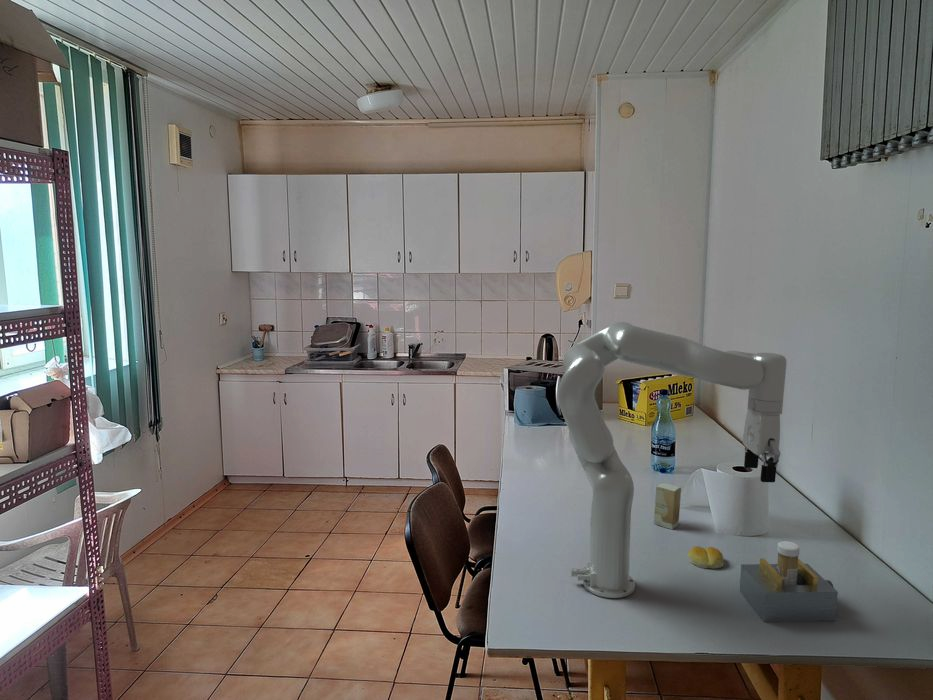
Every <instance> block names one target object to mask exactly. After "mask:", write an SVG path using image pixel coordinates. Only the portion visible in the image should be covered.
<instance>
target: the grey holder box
mask: <svg viewBox="0 0 933 700" xmlns="http://www.w3.org/2000/svg"><path fill="white" fill-rule="evenodd" d="M739 578H740V579H739V593H740V594H741V596H742V597H744V599H745V600H746V602H748V604H749V605H750V607H752V609H753V610H754V611H755V613H756V614H757V615H758V617H759V618H760V619H761V620H762V622H764V623H771V622H773V623H774V622H775V623H777V622H778V623H781V622H782V623H783V622H789V623H790V622H836V619H837V618H836V617H837V605H838V594H839V593H838V590H836V589H835V587H834V585H833V582H832V581H831V580H829V579H825V578H823V576H822V575H820V574H819V573H818V572H817V571H816V570H815V569H814V568H813V567H811V565H810V564H808V563H803V562H802V561H801V559H799V558H798V573H797V585H783V586H782V577H781V575H780V574H779V573H778V572H777V563H770V562H768V561H767V560H766V559H765V558H763V557H761V558H759V563H758V564H757V563H756V564H755V563H754V564H752V563H751V564H750V563H749V564H748V563H746V564H740V577H739Z"/></svg>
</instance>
